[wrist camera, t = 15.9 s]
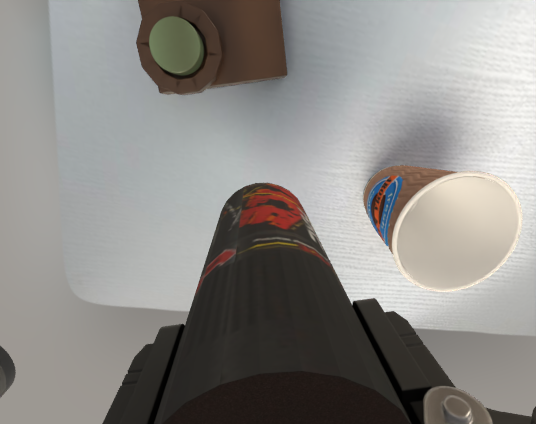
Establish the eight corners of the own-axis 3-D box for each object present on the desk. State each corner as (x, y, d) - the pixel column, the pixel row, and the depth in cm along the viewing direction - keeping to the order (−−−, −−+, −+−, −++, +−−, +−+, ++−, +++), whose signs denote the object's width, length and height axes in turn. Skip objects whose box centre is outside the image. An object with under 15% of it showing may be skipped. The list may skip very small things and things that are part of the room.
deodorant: (202, 235, 21) (91, 510, 6) (252, 164, 19) (247, 318, 5) (272, 277, 22) (306, 583, 8) (323, 214, 21) (477, 447, 6)
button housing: (164, 100, 31) (149, 98, 26) (135, -22, 27) (113, -47, 23) (285, 82, 31) (290, 78, 26) (272, -42, 27) (275, -70, 23)
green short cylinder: (163, 78, 26) (156, 76, 24) (151, 26, 25) (142, 19, 23) (208, 72, 26) (204, 69, 24) (199, 20, 25) (194, 12, 23)
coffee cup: (356, 147, 33) (409, 167, 22) (446, 153, 34) (543, 176, 22) (341, 233, 36) (381, 290, 25) (424, 237, 37) (498, 295, 26)
